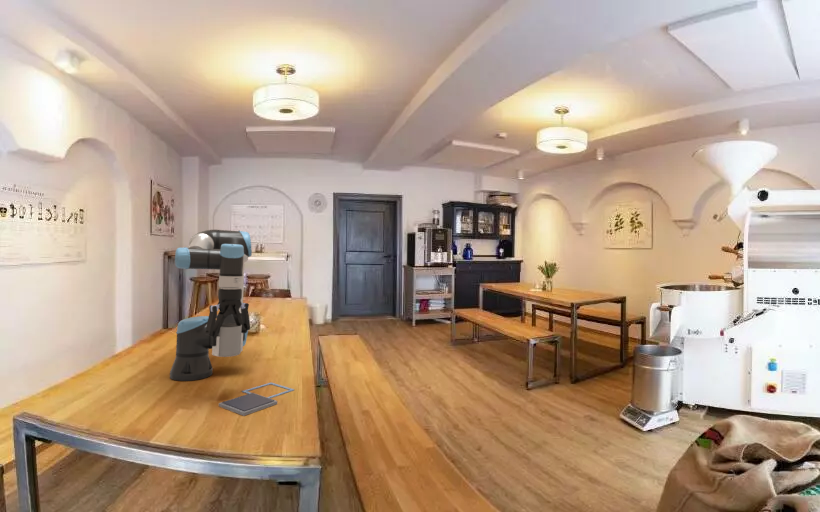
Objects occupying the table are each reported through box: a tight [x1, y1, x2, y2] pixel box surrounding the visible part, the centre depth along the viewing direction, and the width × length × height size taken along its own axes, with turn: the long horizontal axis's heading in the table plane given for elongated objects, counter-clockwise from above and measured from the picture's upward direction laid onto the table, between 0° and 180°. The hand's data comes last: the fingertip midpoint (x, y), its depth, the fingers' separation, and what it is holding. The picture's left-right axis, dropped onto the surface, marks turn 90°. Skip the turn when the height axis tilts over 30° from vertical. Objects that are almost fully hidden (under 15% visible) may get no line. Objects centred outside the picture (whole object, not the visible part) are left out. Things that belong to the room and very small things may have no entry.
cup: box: [217, 323, 242, 358], centre depth 141 cm, size 8×8×10 cm
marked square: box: [241, 382, 295, 399], centre depth 149 cm, size 13×13×1 cm
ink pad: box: [218, 392, 278, 417], centre depth 135 cm, size 13×13×1 cm
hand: (227, 352), depth 141 cm, fingers closed on cup, 8 cm apart
